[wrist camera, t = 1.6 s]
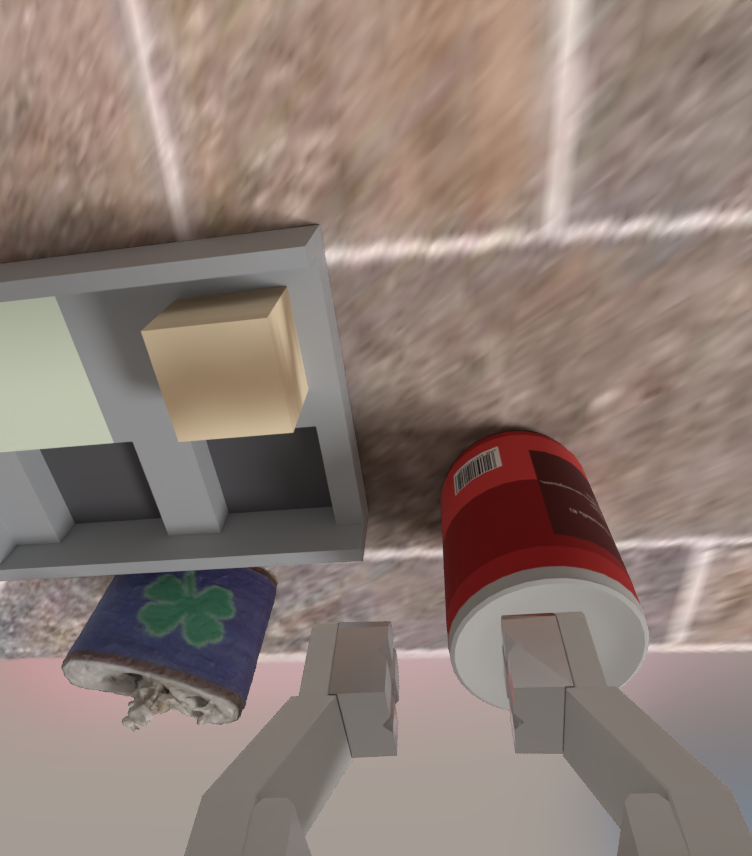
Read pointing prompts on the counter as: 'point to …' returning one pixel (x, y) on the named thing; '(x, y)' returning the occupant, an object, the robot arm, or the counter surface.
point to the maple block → (229, 364)
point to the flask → (176, 642)
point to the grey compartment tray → (164, 421)
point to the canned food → (530, 559)
